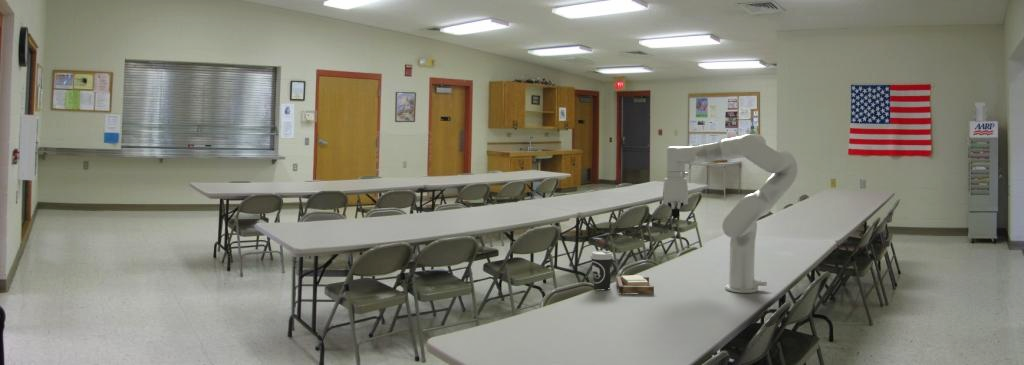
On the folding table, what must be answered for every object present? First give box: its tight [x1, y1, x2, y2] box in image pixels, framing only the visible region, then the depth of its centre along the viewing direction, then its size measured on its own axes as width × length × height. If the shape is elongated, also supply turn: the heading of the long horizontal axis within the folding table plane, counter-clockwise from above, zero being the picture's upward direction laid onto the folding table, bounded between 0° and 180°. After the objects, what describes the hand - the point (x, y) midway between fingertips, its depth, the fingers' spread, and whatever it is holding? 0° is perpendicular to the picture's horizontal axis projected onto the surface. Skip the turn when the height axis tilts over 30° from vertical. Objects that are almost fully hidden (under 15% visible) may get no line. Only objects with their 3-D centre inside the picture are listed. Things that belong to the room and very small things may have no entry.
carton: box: [620, 274, 649, 286], centre depth 270 cm, size 8×12×5 cm
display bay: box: [615, 275, 655, 295], centre depth 269 cm, size 14×18×3 cm
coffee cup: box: [589, 250, 614, 291], centre depth 270 cm, size 10×10×15 cm
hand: (675, 217), depth 281 cm, fingers closed
